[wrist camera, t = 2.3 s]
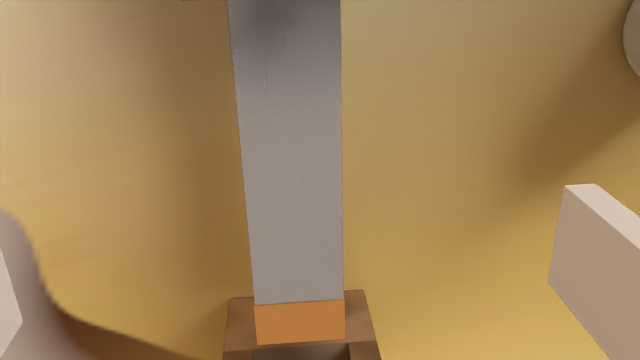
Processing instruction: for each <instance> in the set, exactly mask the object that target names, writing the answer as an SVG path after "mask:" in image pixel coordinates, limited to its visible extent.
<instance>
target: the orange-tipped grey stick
mask: <svg viewBox="0 0 640 360" xmlns="http://www.w3.org/2000/svg"><path fill="white" fill-rule="evenodd" d="M227 7H228V18H229V28H230V39H231V50H232V61H233V72H234V83H235V94H236V104H237V115H238V126H239V137H240V148H241V159H242V170H243V180H244V191H245V202H246V213H247V224H248V235H249V246H250V256H251V267H252V278H253V289H254V314H255V325H256V336H257V345H267V344H281V343H294V342H307V341H321V340H334V339H345V299H344V294H343V218H342V126H341V34H340V0H227Z"/></svg>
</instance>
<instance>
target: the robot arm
mask: <svg viewBox="0 0 640 360" xmlns="http://www.w3.org/2000/svg"><path fill="white" fill-rule="evenodd" d="M548 283H549V284H550V286H551V287H552V288H553V289H554V291H555V292H556V293H557V294H558V296H559V297H560V298H561V299H562V301H563V302H564V303H565V304H566V306H567V307H568V308H569V309H570V311H571V312H572V313H573V314H574V315H575V317H576V318H577V319H578V320H579V322H580V323H581V324H582V325H583V327H584V328H585V329H586V330H587V332H588V333H589V334H590V335H591V337H592V338H593V339H594V340H595V342H596V343H597V344H598V345H599V346H600V348H601V349H602V350H603V351H604V353H605V354H606V355H607V356H608V358H609V359H610V360H640V217H639V216H637V215H636V214H635V213H633V212H632V211H631V210H629V209H628V208H627V207H625V206H624V205H623V204H622V203H620V202H619V201H618V200H616V199H615V198H614V197H612V196H611V195H610V194H608V193H607V192H606V191H604V190H603V189H602V188H600V187H599V186H598V185H597V184H595V183H593V184H577V185H564V189H563V195H562V201H561V207H560V213H559V218H558V224H557V230H556V236H555V242H554V248H553V254H552V260H551V266H550V272H549V277H548ZM22 323H23V320H22V316H21V313H20V310H19V306H18V304H17V300H16V297H15V293H14V291H13V287H12V284H11V280H10V277H9V274H8V271H7V267H6V264H5V261H4V257H3V254H2V251H1V248H0V358H1V356H2V354H3V353H4V351H5V350H6V348H7V347H8V345H9V343H10V341H11V340H12V339H13V337H14V336H15V334H16V332H17V331H18V329H19V327H20V326H21V324H22Z"/></svg>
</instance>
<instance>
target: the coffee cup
mask: <svg viewBox="0 0 640 360" xmlns="http://www.w3.org/2000/svg"><path fill="white" fill-rule="evenodd" d="M623 46H624V49H625V53H626V56H627V59H628V63H629V65H630V66H631V67H632V69H633V70H634V72H635V73H636V75H637V76H639V77H640V0H634V1H633V3H632V5H631V7H630V9H629V11H628V13H627V15H626V19H625V23H624V27H623Z"/></svg>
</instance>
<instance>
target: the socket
mask: <svg viewBox="0 0 640 360" xmlns="http://www.w3.org/2000/svg"><path fill="white" fill-rule="evenodd" d="M343 294H344V299H345V339H334V340H321V341H307V342H294V343H281V344H267V345H257V336H256V325H255V314H254V297H251V298H237V299H230V300H229V309H228V317H227V326H226V334H225V343H224V352H223V360H381V357H380V353H379V349H378V345H377V341H376V337H375V333H374V329H373V325H372V321H371V317H370V313H369V309H368V305H367V301H366V297H365V293H364V290H353V291H343Z"/></svg>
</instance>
